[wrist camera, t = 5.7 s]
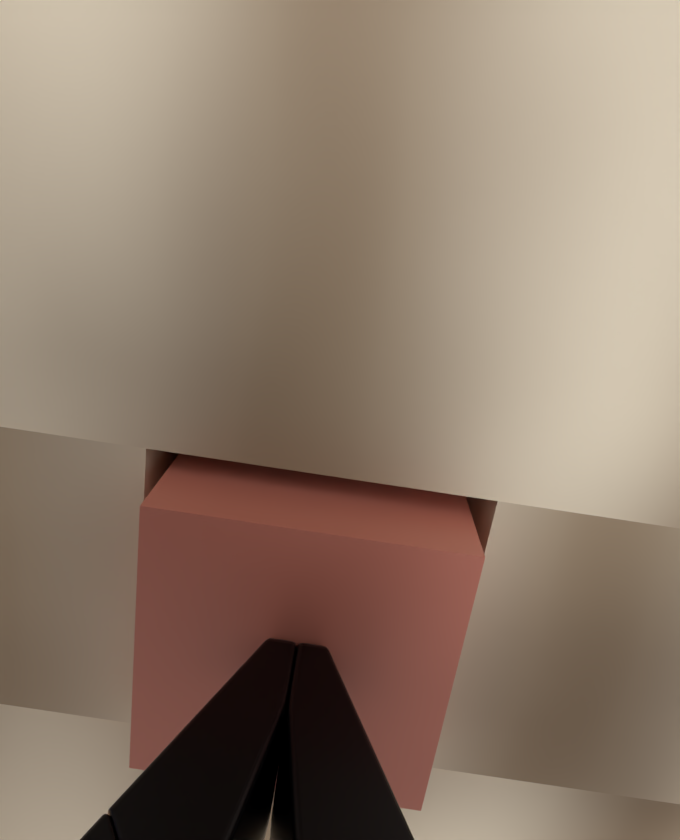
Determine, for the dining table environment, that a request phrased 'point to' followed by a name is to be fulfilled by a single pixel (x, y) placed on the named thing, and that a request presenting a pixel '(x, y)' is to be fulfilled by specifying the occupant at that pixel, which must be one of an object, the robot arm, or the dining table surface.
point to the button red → (303, 598)
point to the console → (352, 359)
